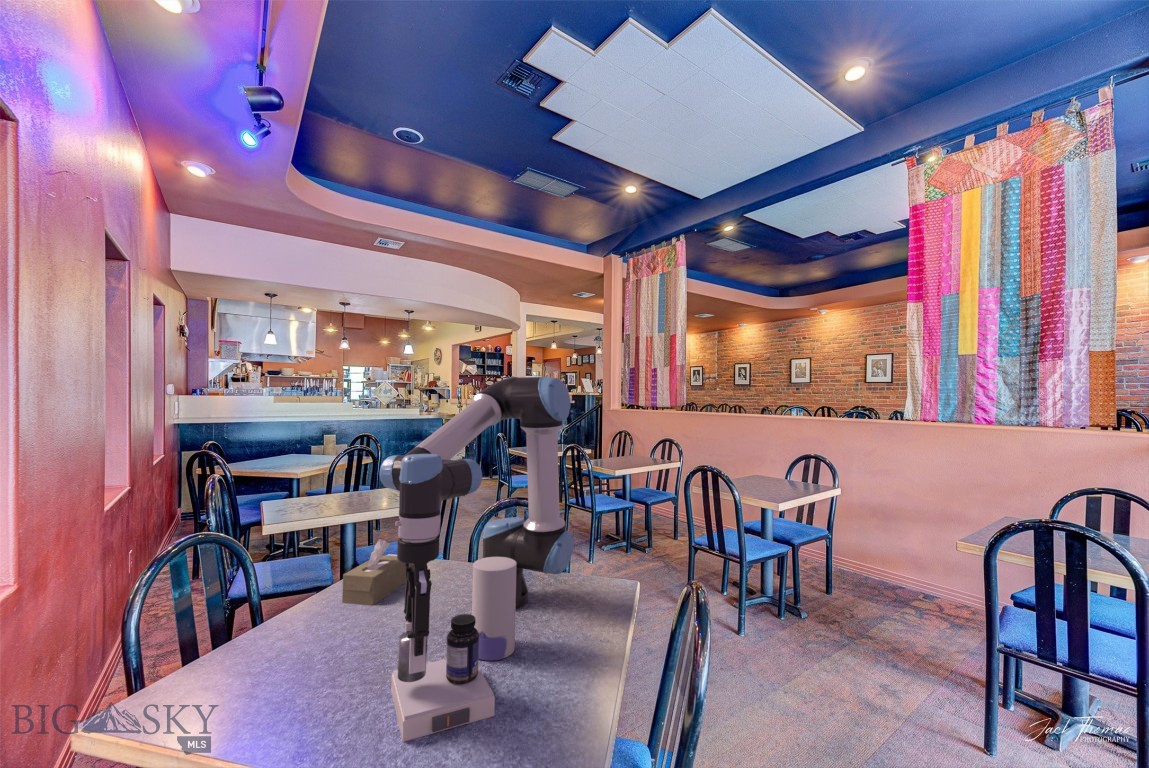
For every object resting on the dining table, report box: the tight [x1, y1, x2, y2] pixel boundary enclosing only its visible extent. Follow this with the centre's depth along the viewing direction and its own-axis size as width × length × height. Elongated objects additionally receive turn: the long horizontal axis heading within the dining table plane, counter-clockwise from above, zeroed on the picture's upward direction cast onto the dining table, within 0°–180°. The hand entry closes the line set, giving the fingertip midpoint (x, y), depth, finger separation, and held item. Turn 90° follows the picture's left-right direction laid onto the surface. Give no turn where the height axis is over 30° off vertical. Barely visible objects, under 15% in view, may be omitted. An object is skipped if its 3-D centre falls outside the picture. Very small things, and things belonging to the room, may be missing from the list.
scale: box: [390, 658, 496, 743], centre depth 93 cm, size 16×17×4 cm
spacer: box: [397, 631, 429, 682], centre depth 91 cm, size 5×5×7 cm
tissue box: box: [341, 538, 406, 606], centre depth 146 cm, size 19×10×16 cm, turn 171°
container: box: [471, 557, 517, 662], centre depth 113 cm, size 10×10×20 cm
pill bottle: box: [446, 613, 479, 684], centre depth 95 cm, size 6×6×11 cm
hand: (414, 663), depth 91 cm, fingers closed on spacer, 5 cm apart
